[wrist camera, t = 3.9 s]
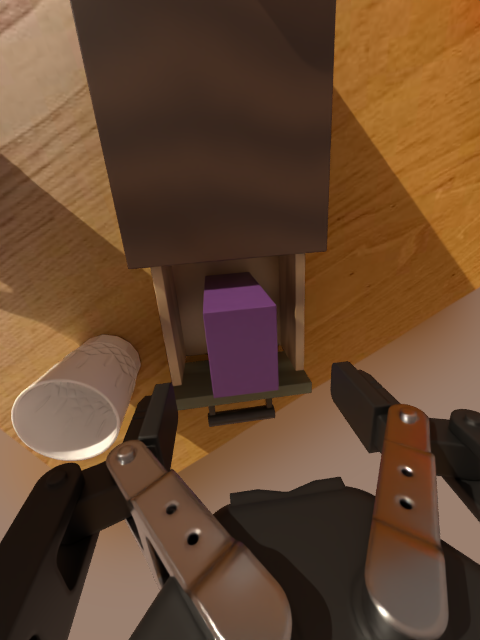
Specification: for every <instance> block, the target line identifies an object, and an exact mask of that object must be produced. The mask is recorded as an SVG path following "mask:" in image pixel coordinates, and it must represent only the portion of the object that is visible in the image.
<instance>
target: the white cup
mask: <svg viewBox="0 0 480 640" xmlns="http://www.w3.org/2000/svg"><path fill="white" fill-rule="evenodd" d="M140 366H141V364H140V359H139V354H138V352H137V351H136V350H135V348H134V347H133V346H132V345H131V343H129V342H127V341H126V340H124V339H122V338H120V337H118V336H112V335H100V336H96V337H93V338H90V339H88V340H87V341H86V342H85V343H83V344H82V345H81V346H80V347H79V348H77V349H75V350H74V351H72V352H71V353H69V354H68V355H67V356H66V357H64V358H63V359H62V360H60V361H59V362H58V363H56V364H55V365H54V366H53V367H52V368H50V369H49V370H48V371H47V372H46V373H44V374H43V375H42V376H41V377H40V378H38V379H37V380H36V381H35V382H34V383H32V384H31V385H30V386H29V387H28V388H26V389H25V390H24V391H23V392H22V393H21V394H20V395H19V396H18V397H17V399H16V400H15V402H14V404H13V407H12V413H11V418H12V424H13V427H14V429H15V431H16V433H17V435H18V436H19V437H20V439H21V440H22V441H23V442H24V443H25V444H26V445H27V446H29V447H30V448H31V449H33V450H34V451H36V452H38V453H40V454H42V455H44V456H47V457H50V458H53V459H58V460H65V461H78V460H85V459H89V458H92V457H95V456H97V455H99V454H101V453H103V452H104V451H106V450H107V449H108V448H109V447H110V446H111V445H112V444H113V443H114V442H115V440H116V438H117V436H118V434H119V431H120V428H121V425H122V422H123V420H124V416H125V414H126V411H127V408H128V406H129V403H130V400H131V396H132V394H133V391H134V387H135V384H136V378H137V375H138V372H139V369H140Z"/></svg>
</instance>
